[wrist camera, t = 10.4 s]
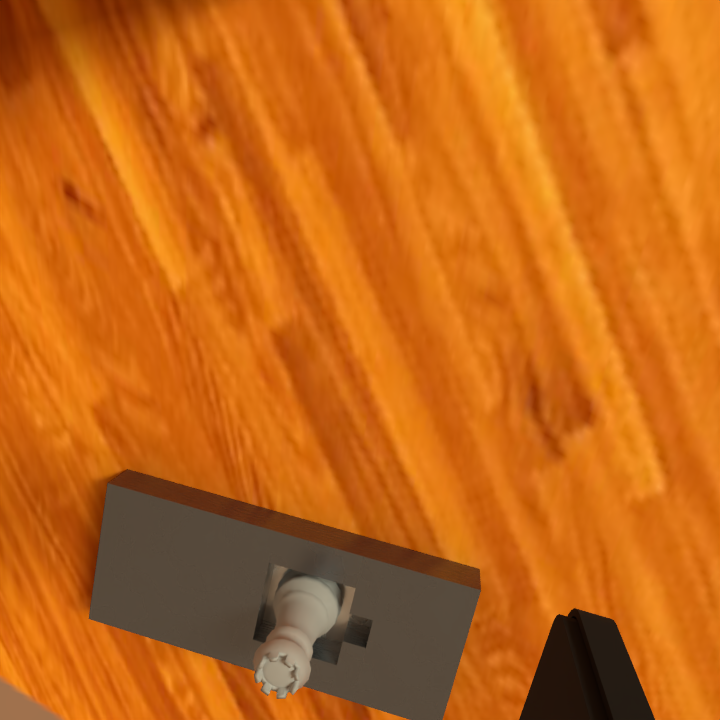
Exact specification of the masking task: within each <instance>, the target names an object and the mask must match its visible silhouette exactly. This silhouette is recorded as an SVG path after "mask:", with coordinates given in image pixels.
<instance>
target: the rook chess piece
mask: <svg viewBox="0 0 720 720" xmlns="http://www.w3.org/2000/svg"><path fill="white" fill-rule="evenodd" d="M342 604H343V600H342V595H341V590H340V588H339V587H338V585H337V584H336V582H333V581H329V580H326V579H323V578H319V577H316V576H312V575H309V574H306V573H302V572H299V571H295V570H292V571H290V572H288V573H286V574H285V575H284V577H283V578H282V579H281V580H280V582H279V583H278V588H277V590H276V592H275V596H274V601H273V608H274V613H275V618H276V626H275V629H274V630H272V631H271V632H270V634H269V635H268V636H267V638H266V642H265V643H263V644H261V645H260V647H259V648H258V649H257V650H256V652H255V655H254V659H253V665H254V670H255V674H254V677H255V682H256V683H258V682H262V683H263V686H262V688H261V691H262V692H263V693H265V694H266V695H267V696H268V695H269V693H270V690H272V691H276V692H277V699H282V698H286V695H287V693H288V692H291V694H292V695H293V694H294V693H295V692H296V691H297V690H298V689H299V688H302V687H303V686H304V684H305V683H306V682H307V681H308V680H309V676H310V672H311V667H310V662H309V661H310V660H311V658H312V654H313V648H312V645H313V644H314V642H315V640H316V639H317V638H319V637H321V636H322V635H324V634H326V633H327V632H328V631H329V630H330V629H331V628H332V626H333V625H334V624H335V623H336V622H337V618H338V616H339V615H340V612H341V608H342Z"/></svg>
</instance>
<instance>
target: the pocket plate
mask: <svg viewBox="0 0 720 720" xmlns="http://www.w3.org/2000/svg"><path fill="white" fill-rule="evenodd" d="M292 570H295V571H299V572H302V573H306V574H309V575H312V576H316V577H319V578H323V579H326V580H329V581H333V582H336V584H337V585H338V587H339V588H340V590H341V595H342V600H343V604H342V608H341V612H340V615H339V616H338V618H337V622H336V623H335V624H334V625H333V626H332V628H331V629H330V630H329V631H328V632H327V633H326V634H324V635H322V636H321V637H319V638H317V639H316V640H315V642H314V644H313V645H312V648H313V654H312V658H311V660H310V661H309V662H310V667H311V672H310V676H309V680H308V681H307V682H306V683H305V684H304V686H305V687H308V688H311V689H314V690H317V691H321V692H324V693H327V694H330V695H333V696H336V697H340V698H343V699H346V700H349V701H352V702H356V703H359V704H362V705H365V706H368V707H372V708H375V709H378V710H381V711H384V712H387V713H391V714H394V715H397V716H400V717H403V718H407V719H410V720H442V719H443V716H444V713H445V709H446V706H447V702H448V699H449V696H450V692H451V689H452V686H453V682H454V679H455V676H456V672H457V669H458V665H459V662H460V659H461V655H462V652H463V649H464V645H465V642H466V639H467V635H468V632H469V628H470V625H471V622H472V618H473V615H474V612H475V608H476V605H477V602H478V598H479V595H480V592H481V584H480V570H479V569H477V568H474V567H470V566H466V565H463V564H459V563H456V562H452V561H449V560H445V559H442V558H438V557H435V556H431V555H428V554H424V553H421V552H417V551H414V550H410V549H407V548H403V547H399V546H396V545H392V544H389V543H385V542H382V541H378V540H375V539H371V538H368V537H364V536H361V535H357V534H354V533H350V532H347V531H343V530H340V529H336V528H332V527H329V526H325V525H322V524H318V523H315V522H311V521H308V520H304V519H301V518H297V517H294V516H290V515H287V514H283V513H280V512H276V511H273V510H269V509H265V508H262V507H258V506H255V505H251V504H248V503H244V502H241V501H237V500H234V499H230V498H227V497H223V496H220V495H216V494H213V493H209V492H205V491H202V490H198V489H195V488H191V487H188V486H184V485H181V484H177V483H174V482H170V481H167V480H163V479H160V478H156V477H153V476H149V475H146V474H142V473H138V472H135V471H131V470H128V469H127V470H126V471H124V472H123V473H121V474H120V475H119V476H117V477H116V478H114V479H113V480H111V481H110V482H108V484H107V491H106V498H105V505H104V513H103V520H102V527H101V534H100V542H99V549H98V556H97V563H96V570H95V578H94V585H93V592H92V599H91V606H90V614H89V619H91V620H94V621H98V622H101V623H104V624H107V625H110V626H113V627H117V628H120V629H123V630H126V631H129V632H133V633H136V634H139V635H142V636H145V637H149V638H152V639H155V640H158V641H161V642H164V643H168V644H171V645H174V646H177V647H180V648H184V649H187V650H190V651H193V652H196V653H199V654H203V655H206V656H209V657H212V658H215V659H219V660H222V661H225V662H228V663H231V664H235V665H238V666H241V667H244V668H247V669H250V670H254V665H253V659H254V655H255V652H256V650H257V649H258V648H259V647H260V645H261V644H263V643H265V642H266V638H267V636H268V635H269V634H270V632H271V631H272V630H274V629H275V626H276V618H275V613H274V608H273V601H274V596H275V592H276V590H277V588H278V583H279V582H280V580H281V579H282V578H283V577H284V575H285V574H286V573H288V572H290V571H292ZM254 671H255V670H254Z"/></svg>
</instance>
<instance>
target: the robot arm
mask: <svg viewBox="0 0 720 720" xmlns="http://www.w3.org/2000/svg"><path fill="white" fill-rule="evenodd" d="M519 720H655V718H654V716H653V713H652V711H651V708H650V706H649V704H648V701H647V699H646V696H645V694H644V691H643V689H642V686H641V684H640V681H639V679H638V676H637V674H636V672H635V669H634V667H633V664H632V662H631V659H630V657H629V654H628V652H627V649H626V647H625V645H624V642H623V640H622V637H621V635H620V632H619V630H618V627H617V625H616V623H615V622H614V620H612V619H610V618H606V617H603V616H599V615H596V614H592V613H589V612H585V611H582V610H579V609H575V608H574V609H573V610H571V612H570V613H569V614H568V617H567V616H563V615H560V614H559V615H557V616H556V618H555V619H554V622H553V624H552V627H551V630H550V633H549V636H548V639H547V641H546V644H545V647H544V650H543V653H542V656H541V659H540V662H539V664H538V667H537V670H536V673H535V676H534V679H533V682H532V684H531V687H530V690H529V693H528V696H527V699H526V702H525V704H524V707H523V710H522V713H521V716H520V719H519Z"/></svg>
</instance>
